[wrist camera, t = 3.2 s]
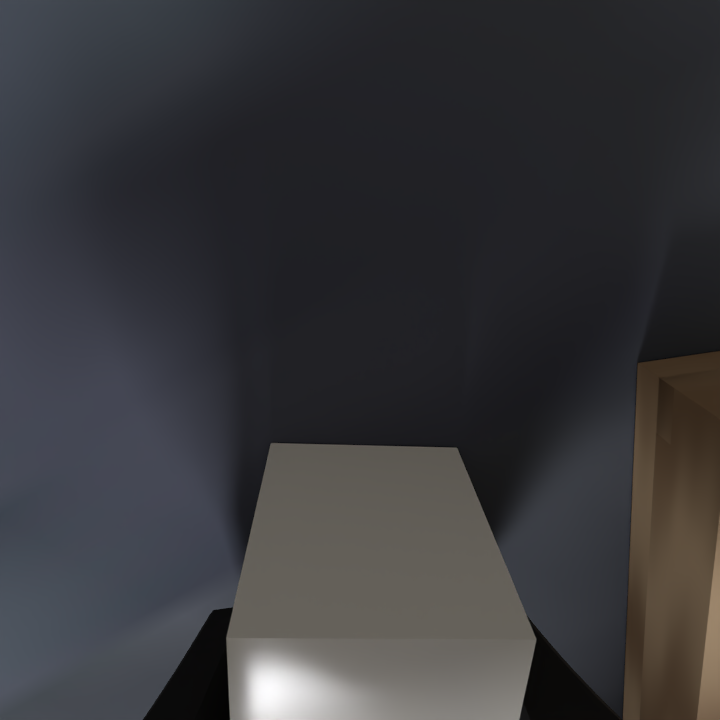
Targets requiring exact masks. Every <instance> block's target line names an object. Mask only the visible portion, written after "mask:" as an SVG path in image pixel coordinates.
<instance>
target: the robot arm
mask: <svg viewBox="0 0 720 720" xmlns="http://www.w3.org/2000/svg"><path fill="white" fill-rule="evenodd" d="M232 611H233V608H226V609H219V610H213V612H212V613H211V614H210V615H209V617H208V619H207V620H206V622H205V624H204V625H203V627H202V628H201V630H200V632H199V633H198V635H197V637H196V638H195V640H194V642H193V643H192V645H191V647H190V648H189V650H188V651H187V653H186V655H185V656H184V658H183V660H182V661H181V663H180V664H179V666H178V667H177V669H176V671H175V672H174V674H173V675H172V677H171V678H170V680H169V681H168V683H167V684H166V686H165V687H164V689H163V691H162V692H161V694H160V695H159V697H158V698H157V700H156V701H155V703H154V704H153V706H152V707H151V709H150V710H149V712H148V713H147V715H146V716H145V717H144V719H143V720H230V709H229V687H228V665H227V643H226V637H227V633H228V628H229V624H230V619H231V615H232ZM527 618H528V616H527ZM528 620H529V623H530V625H531V627H532V630H533V632H534V635H535V637H536V639H537V640H536V644H535V649H534V653H533V658H532V663H531V667H530V672H529V677H528V681H527V686H526V690H525V695H524V700H523V704H522V709H521V714H520V718H519V720H622V719H621V718H620V717H619V716H618V715H617V714H616V713H615V712H614V711H613V710H612V709H611V708H610V707H609V706H608V705H607V704H606V703H605V702H604V701H603V700H602V699H601V698H600V697H599V696H598V695H597V694H596V693H595V692H594V691H593V690H592V689H591V688H590V687H589V686H588V685H587V684H586V683H585V682H584V681H583V680H582V679H581V678H580V676H579V675H578V674H577V673H576V672H575V671H574V670H573V669H572V668H571V667H570V666H569V665H568V663H567V662H566V661H565V660H564V659H563V658H562V657H561V656H560V655H559V653H558V652H557V651H556V650H555V649H554V648H553V646H552V645H551V644H550V643H549V642H548V641H547V639H546V638H545V637H544V636H543V635H542V634H541V632H540V631H539V630H538V629H537V628H536V626H535V625H534V624H533V623H532V621H531V620H530V619H529V618H528Z"/></svg>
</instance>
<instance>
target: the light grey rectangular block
mask: <svg viewBox="0 0 720 720" xmlns="http://www.w3.org/2000/svg"><path fill="white" fill-rule="evenodd" d="M536 640H537V639H536V637H535V635H534V632H533V630H532V627H531V625H530V623H529V620H528V618H527V615H526V613H525V611H524V608H523V606H522V603H521V601H520V598H519V596H518V594H517V591H516V589H515V586H514V584H513V582H512V579H511V577H510V574H509V572H508V570H507V567H506V565H505V562H504V560H503V557H502V555H501V553H500V550H499V548H498V545H497V543H496V541H495V538H494V536H493V533H492V531H491V529H490V526H489V524H488V521H487V519H486V516H485V514H484V512H483V509H482V507H481V504H480V502H479V500H478V497H477V495H476V492H475V490H474V487H473V485H472V483H471V480H470V478H469V475H468V473H467V471H466V468H465V466H464V463H463V461H462V459H461V456H460V454H459V451H458V449H457V448H451V447H411V446H371V445H331V444H290V443H271V444H270V449H269V453H268V457H267V462H266V466H265V471H264V475H263V479H262V484H261V488H260V493H259V497H258V501H257V506H256V510H255V514H254V519H253V523H252V528H251V532H250V536H249V541H248V545H247V549H246V554H245V558H244V563H243V567H242V571H241V576H240V580H239V584H238V589H237V593H236V598H235V602H234V606H233V611H232V615H231V619H230V624H229V628H228V633H227V637H226V643H227V665H228V687H229V709H230V720H519V718H520V714H521V709H522V704H523V700H524V695H525V690H526V686H527V681H528V677H529V672H530V667H531V663H532V658H533V653H534V649H535V644H536Z"/></svg>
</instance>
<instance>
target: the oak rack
mask: <svg viewBox="0 0 720 720" xmlns="http://www.w3.org/2000/svg"><path fill="white" fill-rule="evenodd" d="M623 720H720V351H716V352H709V353H703V354H696V355H689V356H682V357H675V358H668V359H662V360H655V361H648V362H641V363H638V369H637V393H636V417H635V441H634V464H633V488H632V512H631V536H630V559H629V583H628V607H627V631H626V655H625V678H624V702H623Z"/></svg>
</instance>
